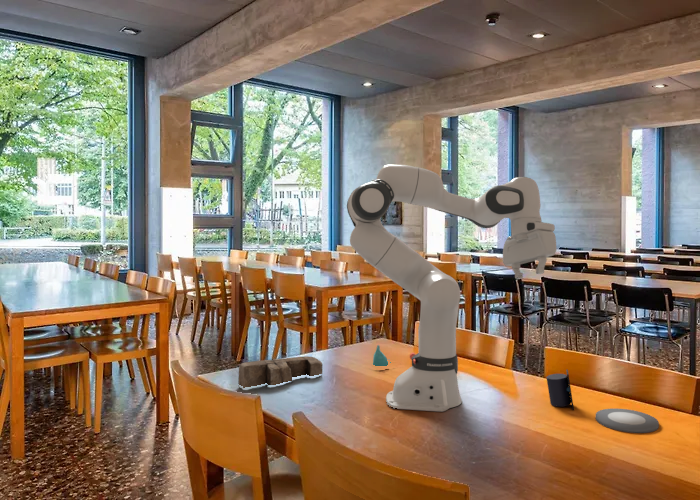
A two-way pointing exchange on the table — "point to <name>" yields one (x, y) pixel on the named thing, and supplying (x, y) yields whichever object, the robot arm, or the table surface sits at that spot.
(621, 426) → the speaker stand
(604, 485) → the table surface
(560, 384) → the speaker
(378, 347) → the teal tapered piece
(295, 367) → the sculpture
